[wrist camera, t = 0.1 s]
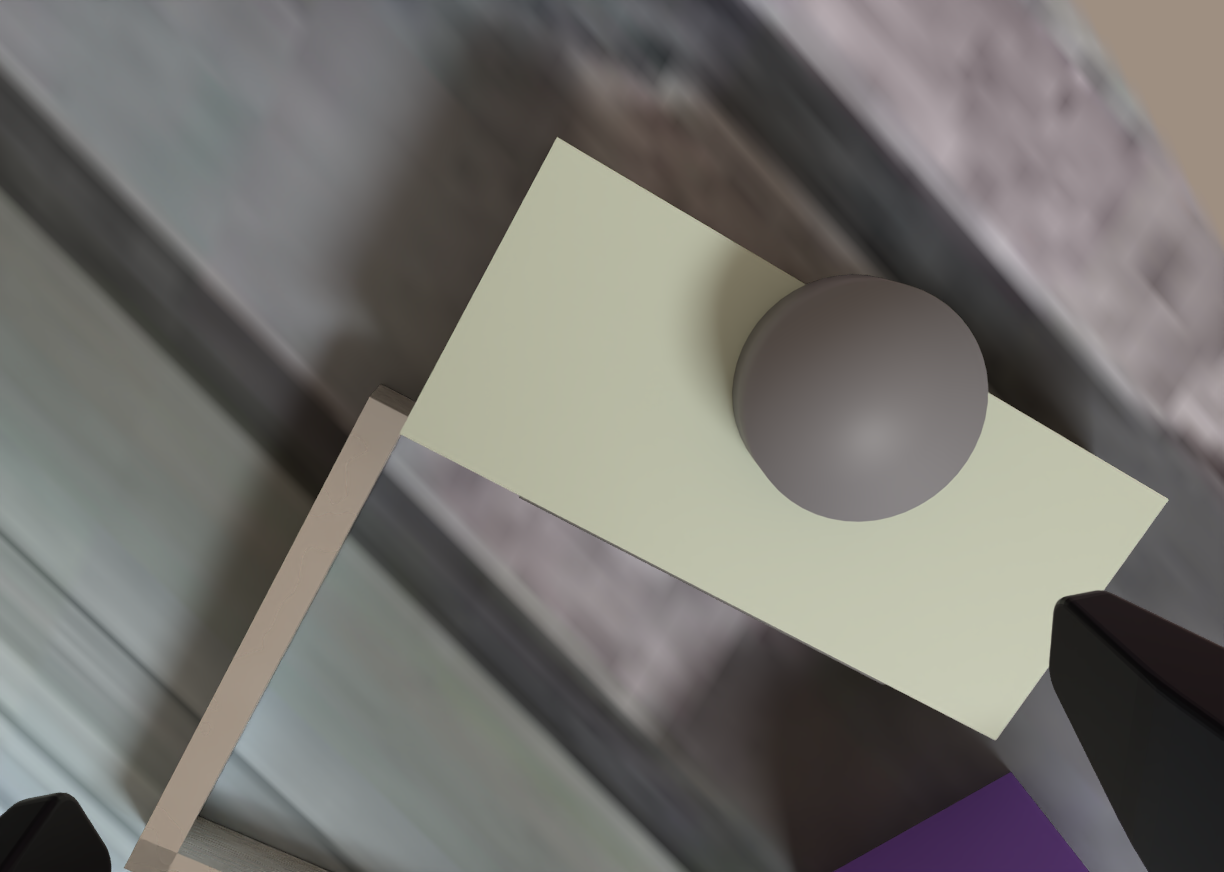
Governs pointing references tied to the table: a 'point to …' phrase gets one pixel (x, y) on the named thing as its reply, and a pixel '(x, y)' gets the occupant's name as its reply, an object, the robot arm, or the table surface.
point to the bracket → (977, 838)
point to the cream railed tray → (720, 466)
